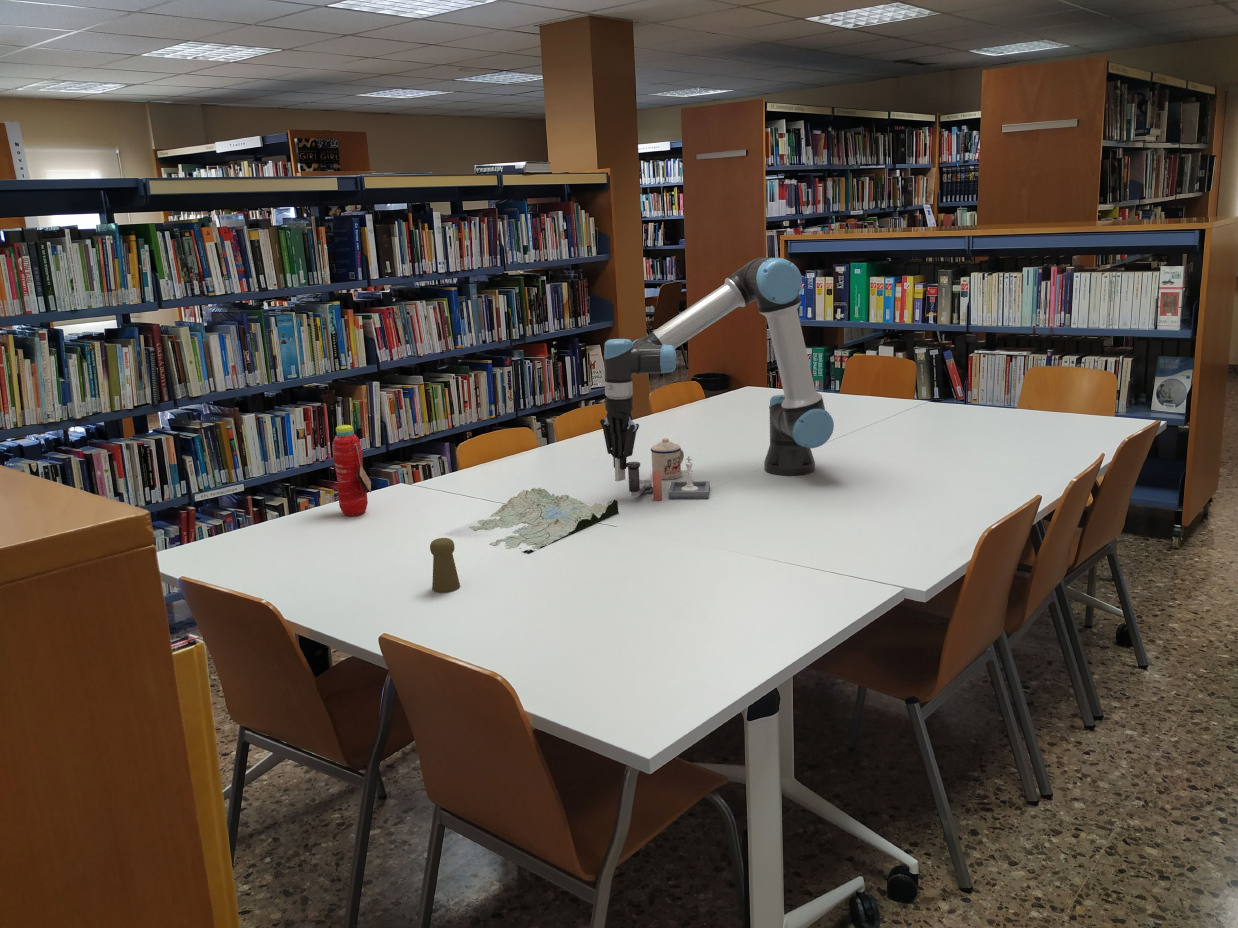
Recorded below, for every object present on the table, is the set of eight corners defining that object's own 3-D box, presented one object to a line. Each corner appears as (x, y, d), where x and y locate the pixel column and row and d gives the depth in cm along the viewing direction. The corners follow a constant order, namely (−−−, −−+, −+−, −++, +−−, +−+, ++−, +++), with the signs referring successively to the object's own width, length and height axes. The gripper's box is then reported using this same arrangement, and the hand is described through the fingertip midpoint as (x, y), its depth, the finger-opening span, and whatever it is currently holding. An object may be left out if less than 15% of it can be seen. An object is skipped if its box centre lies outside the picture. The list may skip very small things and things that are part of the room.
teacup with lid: (667, 481, 276) (665, 443, 273) (645, 476, 282) (643, 439, 279) (694, 473, 283) (693, 435, 280) (672, 468, 290) (671, 432, 287)
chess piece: (686, 487, 266) (685, 453, 263) (701, 489, 263) (700, 455, 261) (677, 491, 262) (676, 457, 259) (692, 494, 259) (691, 459, 257)
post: (662, 498, 259) (661, 470, 257) (661, 500, 257) (660, 473, 255) (653, 498, 260) (652, 470, 258) (653, 501, 257) (651, 473, 255)
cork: (433, 583, 205) (428, 536, 202) (461, 581, 205) (456, 533, 202) (430, 593, 199) (425, 545, 196) (459, 591, 199) (454, 543, 197)
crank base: (655, 488, 269) (655, 485, 268) (653, 494, 263) (653, 491, 263) (635, 489, 270) (635, 485, 269) (632, 495, 264) (632, 491, 264)
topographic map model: (529, 556, 221) (527, 536, 219) (443, 536, 238) (441, 518, 237) (618, 515, 248) (618, 497, 247) (536, 500, 265) (535, 483, 264)
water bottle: (383, 513, 258) (373, 425, 252) (359, 521, 252) (348, 431, 246) (356, 506, 265) (346, 421, 259) (333, 514, 259) (321, 426, 253)
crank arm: (639, 484, 269) (637, 453, 266) (653, 485, 267) (652, 453, 265) (625, 497, 257) (623, 464, 254) (640, 498, 255) (638, 465, 253)
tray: (709, 487, 267) (709, 481, 267) (708, 499, 257) (708, 492, 256) (671, 488, 269) (671, 481, 268) (668, 499, 258) (668, 492, 258)
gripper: (592, 395, 255) (594, 478, 261) (626, 401, 246) (627, 487, 252) (611, 392, 260) (613, 473, 266) (645, 397, 251) (646, 481, 257)
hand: (620, 480), depth 259 cm, fingers closed
